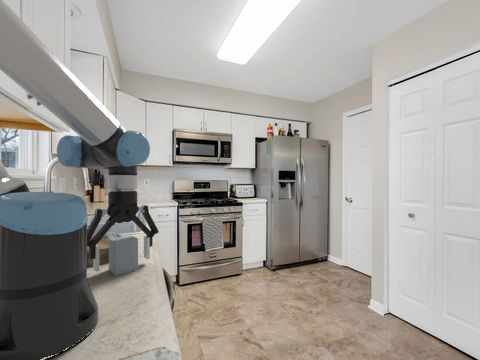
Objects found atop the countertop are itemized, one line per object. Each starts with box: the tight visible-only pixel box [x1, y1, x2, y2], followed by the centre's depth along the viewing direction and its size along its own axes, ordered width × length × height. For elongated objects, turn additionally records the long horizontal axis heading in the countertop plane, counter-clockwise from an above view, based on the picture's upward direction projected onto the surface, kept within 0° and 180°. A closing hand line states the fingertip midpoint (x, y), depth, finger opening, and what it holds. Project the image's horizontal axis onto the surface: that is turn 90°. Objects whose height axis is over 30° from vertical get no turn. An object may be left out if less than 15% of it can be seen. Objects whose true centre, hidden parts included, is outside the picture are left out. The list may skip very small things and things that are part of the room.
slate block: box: [108, 234, 139, 276], centre depth 66 cm, size 6×6×9 cm
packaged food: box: [90, 231, 122, 241], centre depth 94 cm, size 9×12×5 cm
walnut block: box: [87, 235, 123, 268], centre depth 78 cm, size 14×14×5 cm
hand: (123, 263), depth 66 cm, fingers open, 13 cm apart
